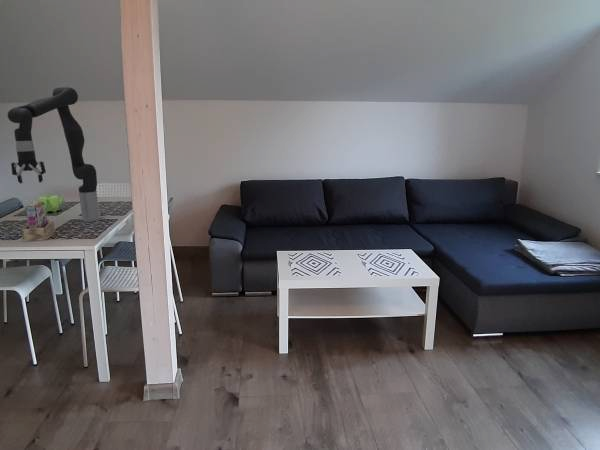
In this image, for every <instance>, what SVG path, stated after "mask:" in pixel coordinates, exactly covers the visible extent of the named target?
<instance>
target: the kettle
mask: <svg viewBox="0 0 600 450" xmlns="http://www.w3.org/2000/svg"><path fill="white" fill-rule="evenodd" d="M60 197H61V198H60ZM60 197H59V195H51V194H45V196H39V197H38V201H36V200H33V201H32V202H31V204H32V203H34V202H45V209H46V214H48V212H52V213H53V212H54V214H55V212H56V213H58V211H60V209H61V205H62V204H63V202H64V198H65V197H67V195H61V196H60ZM57 210H58V211H57Z"/></svg>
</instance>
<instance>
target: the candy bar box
mask: <svg viewBox="0 0 600 450" xmlns="http://www.w3.org/2000/svg"><path fill="white" fill-rule="evenodd" d="M25 210H26V211H25V213H26V217H27V224H28V227H29V229H35V228H44V227H45V226H46V225H47V221H48V219H47V213H46V209H45V202H39V201H36V202H34V203H32V202H31V203H30V204H27V205H25Z"/></svg>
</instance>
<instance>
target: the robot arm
mask: <svg viewBox="0 0 600 450" xmlns="http://www.w3.org/2000/svg"><path fill="white" fill-rule="evenodd" d="M78 98H79V95H78V91H76V89H74V88H72V87H69V86H66V87H56V88H54V89H53V91H52V96H48V97H45V98H40V99H37V100H35V101H32V102H31V101H30V102H29V103H27V104H24V105H19V106H16V107H15V106H14V107H12V108H11V109H10V110H9V111H8V112H7V118H8V120H9V121H10V122H11V123H14V124H18V125H19V126H18V128H15V129H14V140H15V151H16V154H17V155H16V156H17V161H18V162H14V161H13V162H11V164H10V165H11V174H12V175H13V176H16V177H17V182H18V183H19V184H23V176H22V174H23V172H28V171H30V172H33V171H34V172H35V173H36V174H37V178H38V182H39V183H43V181H44V180H43V174H45V173H46V166H45V162H44V161H43V160H42V161H41V160H40V161H37V158H36V152H35V151H36V150H35V146H34V142H33V137H32V136H33V135H32V129H33V128H32V127H33V119H34V118H38V117H40V116H42V115H45V114H47V113H49V112H51V111H53V110H57V113H58V115H59V119H60V121H61V122H60V123H61V125H62V126H61V127H62V128H63V133H64V137H65V141H66V143H67V148H68V152H69V155H70V161H71V168H72V173H73V176H74V177H75V178H76V179H77V180H82V184H81V185H80V186H79V187H78V194H79V195H78V196H79V202H80V210H81V217H82V218H81V219H82V222H86V223H91V222H92V223H93V222H98V221H100V220H101V210H100V203H99V202H98V201H99V200H98V195H97V194H98V193H97V187H98V178H97V170H96V168H95V166H94V165H93V164H91V163H85V161H84V157H83V150H84V146H85V136H84V132H83V128H82V126H80V123H79V122H78V121H77V120H76V119H75V118H74V115H72V113H71V109H70V107H69V106H71V105H75V104H76V103H77V102H78V101H79V99H78ZM37 166H39V167H40V169H39V168H38V167H37ZM17 167H19V170H18V171H17Z"/></svg>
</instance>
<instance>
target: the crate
mask: <svg viewBox="0 0 600 450" xmlns="http://www.w3.org/2000/svg"><path fill="white" fill-rule="evenodd" d="M55 230H56V229H55V224H54V219H53V220H47V225H46V226H45V227H44V228H35V229H29V227H28V223H27V224H26V225H24V227H22V228H21V229H20V234H21V239H22V242H23V243H25V242H35V241H36V242H37V241H38V242H39V241H47V240H49V239H50V237H52V235H53V234H54V233H55Z"/></svg>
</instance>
